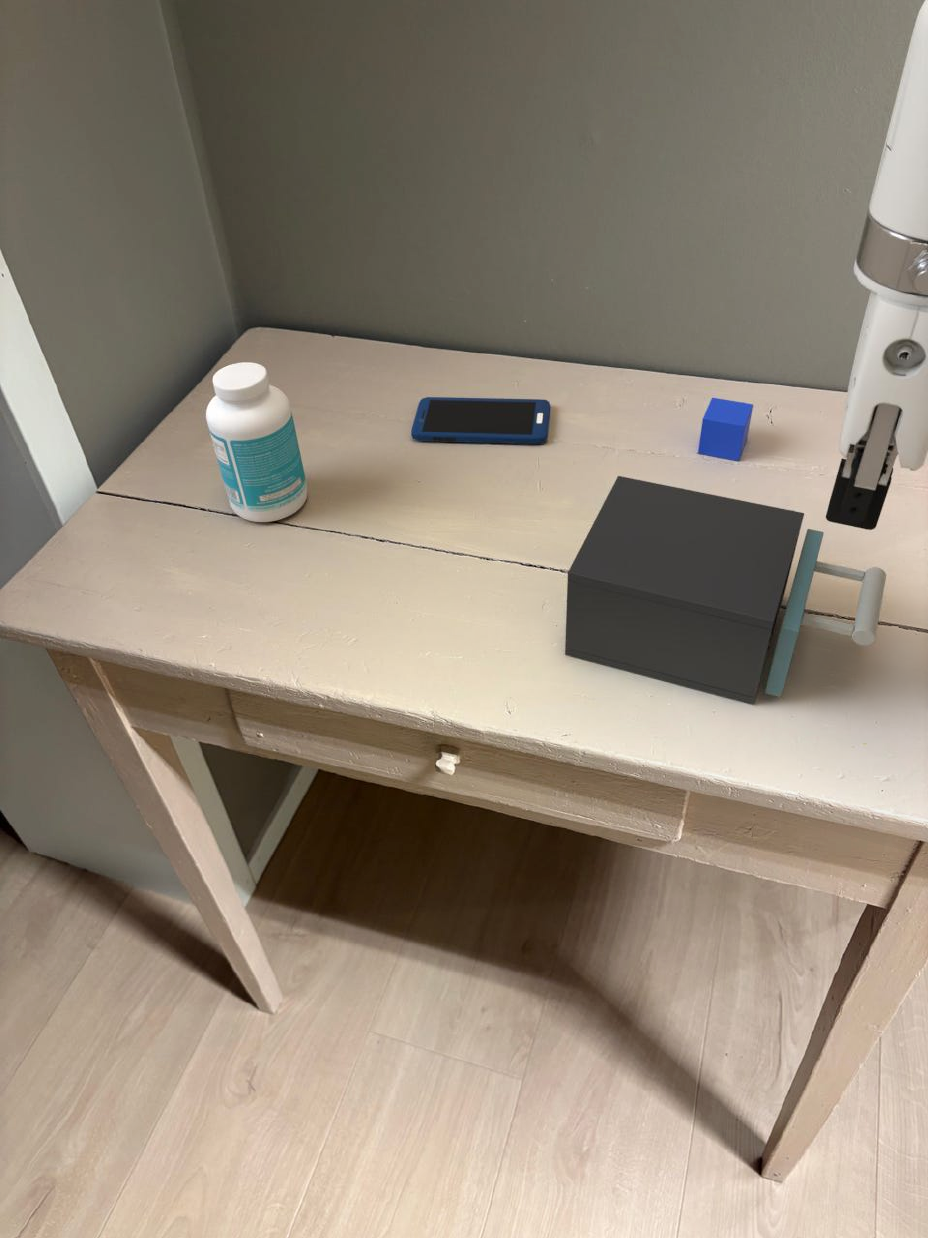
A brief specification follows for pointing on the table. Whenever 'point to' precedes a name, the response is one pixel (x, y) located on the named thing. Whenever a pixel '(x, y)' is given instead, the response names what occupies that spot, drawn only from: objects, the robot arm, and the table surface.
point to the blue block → (725, 429)
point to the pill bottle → (256, 444)
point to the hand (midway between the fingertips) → (851, 518)
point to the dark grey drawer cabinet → (681, 586)
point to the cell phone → (482, 420)
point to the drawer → (795, 616)
